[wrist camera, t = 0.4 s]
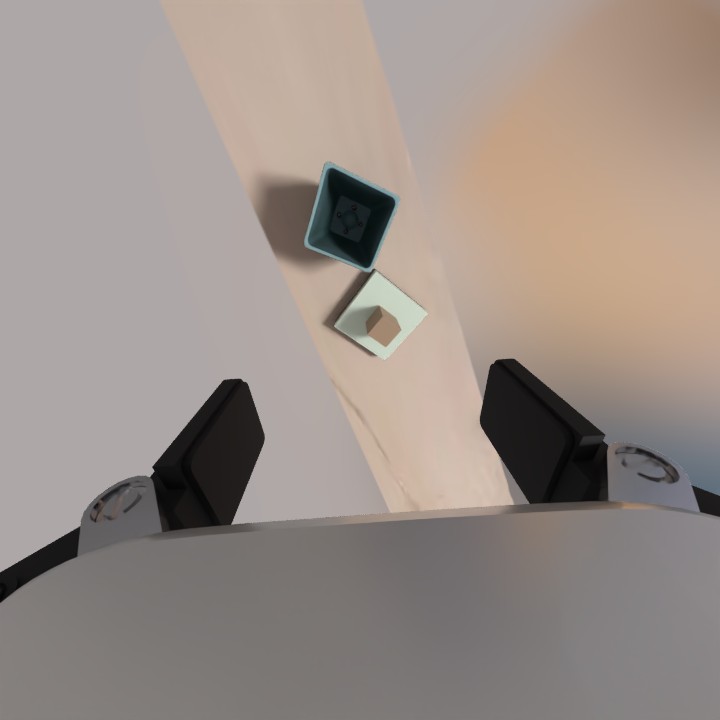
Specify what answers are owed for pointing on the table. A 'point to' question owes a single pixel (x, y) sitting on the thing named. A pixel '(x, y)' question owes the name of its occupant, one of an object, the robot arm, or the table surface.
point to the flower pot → (350, 218)
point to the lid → (380, 316)
